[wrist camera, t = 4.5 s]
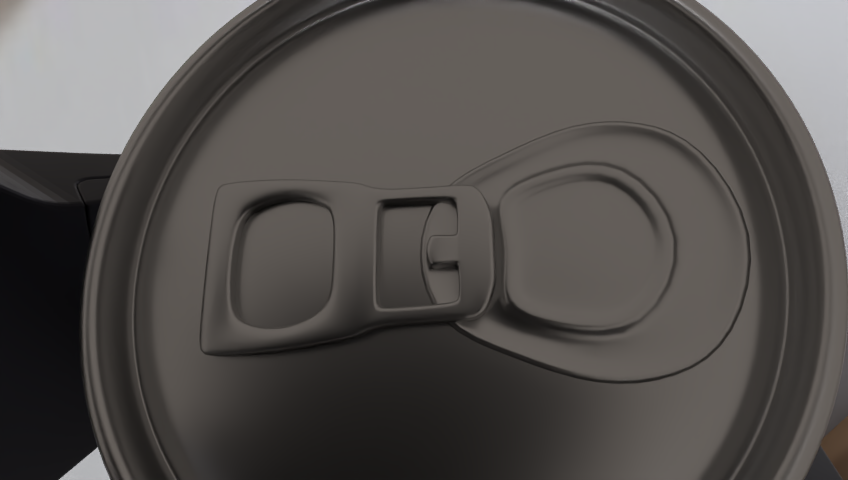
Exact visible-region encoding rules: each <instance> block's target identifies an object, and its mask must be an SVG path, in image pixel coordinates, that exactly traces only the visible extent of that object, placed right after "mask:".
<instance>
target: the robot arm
mask: <svg viewBox="0 0 848 480" xmlns="http://www.w3.org/2000/svg"><path fill="white" fill-rule="evenodd" d="M120 156H121V154H91V153H66V152H43V151H20V150H0V480H59V479H60V478H61V477H62V476H64V475H65V474H66V473H67V472H68V471H70V470H71V469H72V468H73V467H74V466H76V465H77V464H78V463H79V462H80V461H82V460H83V459H84V458H85V457H86V456H88V455H89V454H90V453H91V452H92V451H94V450H95V449H96V448H97V447H98V446H97V443H96V439H95V436H94V433H93V429H92V425H91V421H90V417H89V414H88V409H87V404H86V399H85V393H84V387H83V380H82V372H81V362H80V346H79V313H80V298H81V288H82V279H83V272H84V266H85V260H86V255H87V250H88V246H89V241H90V237H91V233H92V229H93V226H94V222H95V219H96V216H97V212H98V209H99V206H100V203H101V200H102V198H103V195H104V192H105V190H106V187H107V185H108V182H109V180H110V178H111V175H112V173H113V171H114V168H115V166H116V164H117V162H118V160H119V158H120ZM804 480H843V479H842V477H841V476H840V474H839V473H838V471H837V470H836V468H835V467H834V465H833V464H832V462H831V460H830V459H829V457H828V456H827V454H826V453H825V451H824V450H823V448H822V447H821V445H820V447H819V449H818V452H817V454H816V456H815V458H814V461H813V463H812V465H811V467H810V469H809V472H808V474H807V475H806V477H805V479H804Z"/></svg>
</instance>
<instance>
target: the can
mask: <svg viewBox="0 0 848 480" xmlns="http://www.w3.org/2000/svg"><path fill="white" fill-rule="evenodd" d="M847 330H848V269H847V259H846V250H845V243H844V237H843V231H842V226H841V221H840V217H839V212H838V208H837V204H836V201H835V197H834V194H833V190H832V187H831V184H830V181H829V178H828V175H827V172H826V169H825V167H824V164H823V162H822V159H821V157H820V154H819V152H818V150H817V148H816V145H815V143H814V141H813V139H812V137H811V135H810V133H809V131H808V129H807V127H806V125H805V123H804V121H803V120H802V118H801V116H800V114H799V113H798V111H797V109H796V108H795V106H794V104H793V103H792V101H791V99H790V98H789V96H788V95H787V94H786V92H785V91H784V89H783V88H782V86H781V85H780V83H779V82H778V81H777V79H776V78H775V77H774V75H773V74H772V73H771V71H770V70H769V69H768V68H767V67H766V65H765V64H764V63H763V62H762V61H761V59H760V58H759V57H758V56H757V55H756V54H755V53H754V52H753V50H752V49H751V48H750V47H749V46H748V45H747V44H746V43H745V42H744V41H743V40H742V39H741V38H740V37H739V36H738V35H737V34H736V33H735V32H734V31H733V30H732V29H731V28H729V27H728V26H727V25H726V24H725V23H724V22H723V21H721V20H720V19H719V18H718V17H717V16H715V15H714V14H713V13H712V12H710V11H709V10H708V9H707V8H705V7H704V6H703V5H701V4H700V3H699V2H697V1H696V0H257V1H256V2H254V3H253V4H252V5H250V6H249V7H247V8H246V9H244V10H243V11H242V12H240V13H239V14H238V15H236V16H235V17H234V18H233V19H231V20H230V21H229V22H228V23H226V24H225V25H224V26H223V27H221V28H220V29H219V30H218V31H217V32H216V33H215V34H213V35H212V36H211V37H210V38H209V39H208V40H207V41H206V42H205V43H204V44H203V45H202V46H201V47H199V49H198V50H197V51H196V52H195V53H194V54H193V55H192V56H191V57H190V58H189V59H188V60H187V61H186V62H185V63H184V64H183V65H182V66H181V67H180V69H179V70H178V71H177V72H176V73H175V74H174V76H173V77H172V78H171V79H170V80H169V81H168V83H167V84H166V85H165V87H164V88H163V89H162V90H161V92H160V93H159V94H158V96H157V97H156V98H155V100H154V101H153V103H152V104H151V105H150V107H149V108H148V110H147V111H146V113H145V114H144V116H143V117H142V119H141V120H140V122H139V124H138V125H137V127H136V129H135V130H134V132H133V134H132V135H131V137H130V139H129V141H128V142H127V144H126V146H125V148H124V150H123V152H122V154H121V156H120V158H119V160H118V162H117V164H116V166H115V168H114V171H113V173H112V175H111V178H110V180H109V182H108V185H107V187H106V190H105V192H104V195H103V198H102V200H101V203H100V206H99V209H98V212H97V216H96V219H95V222H94V226H93V229H92V233H91V237H90V241H89V246H88V250H87V255H86V260H85V266H84V272H83V279H82V288H81V298H80V313H79V346H80V362H81V372H82V380H83V387H84V393H85V399H86V404H87V409H88V414H89V417H90V421H91V425H92V429H93V433H94V436H95V439H96V443H97V446H98V449H99V452H100V454H101V457H102V460H103V463H104V465H105V468H106V470H107V473H108V475H109V477H110V480H804V479H805V477H806V475H807V474H808V472H809V469H810V467H811V465H812V463H813V461H814V458H815V456H816V454H817V452H818V449H819V447H820V444H821V442H822V439H823V437H824V434H825V431H826V429H827V426H828V423H829V420H830V416H831V413H832V410H833V407H834V403H835V399H836V396H837V392H838V388H839V384H840V379H841V374H842V368H843V363H844V356H845V349H846V342H847Z"/></svg>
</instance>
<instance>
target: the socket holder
mask: <svg viewBox="0 0 848 480" xmlns="http://www.w3.org/2000/svg"><path fill="white" fill-rule="evenodd" d="M820 445H821V447H822V448H823V450H824V451H825V453H826V454H827V456H828V457H829V459H830V460H831V462H832V464H833V465H834V467H835V468H836V470H837V471H838V473H839V474H840V476H841V477H842V479H843V480H848V330H847V342H846V349H845V356H844V363H843V368H842V374H841V379H840V384H839V388H838V392H837V396H836V399H835V403H834V407H833V410H832V413H831V416H830V420H829V423H828V426H827V429H826V431H825V434H824V437H823V439H822V442H821V444H820Z"/></svg>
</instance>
